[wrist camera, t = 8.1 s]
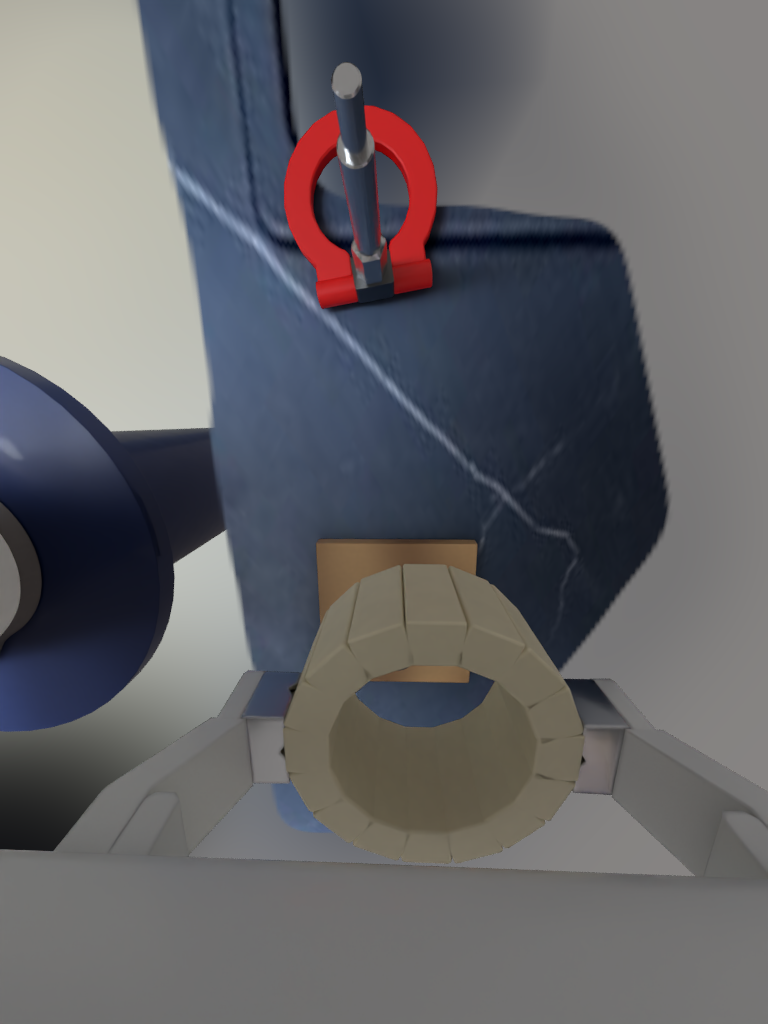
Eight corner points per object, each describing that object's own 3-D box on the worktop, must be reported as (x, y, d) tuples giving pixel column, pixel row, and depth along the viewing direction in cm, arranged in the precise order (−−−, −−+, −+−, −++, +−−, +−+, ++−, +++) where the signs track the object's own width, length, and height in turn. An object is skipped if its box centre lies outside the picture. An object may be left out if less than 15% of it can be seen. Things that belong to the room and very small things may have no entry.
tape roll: (318, 749, 12) (292, 859, 9) (308, 561, 10) (272, 619, 7) (520, 754, 11) (563, 870, 8) (542, 565, 10) (605, 625, 7)
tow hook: (275, 141, 20) (309, 317, 22) (76, -352, 8) (193, 153, 9) (423, 107, 20) (446, 290, 22) (473, -487, 7) (519, 77, 9)
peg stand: (325, 671, 28) (310, 727, 23) (318, 538, 26) (299, 568, 20) (466, 674, 28) (482, 731, 23) (474, 539, 25) (495, 569, 20)
